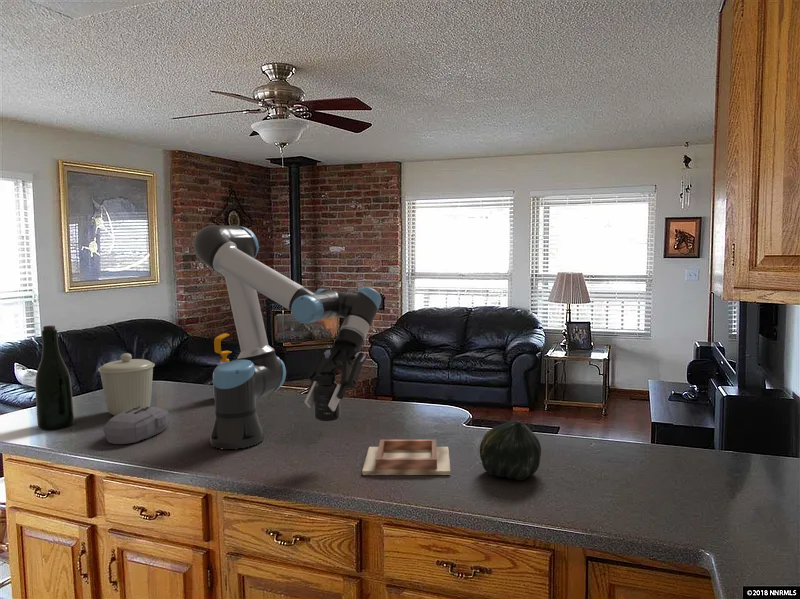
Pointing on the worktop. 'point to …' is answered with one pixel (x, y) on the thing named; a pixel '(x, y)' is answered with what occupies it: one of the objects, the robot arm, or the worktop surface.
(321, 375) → the supplement bottle
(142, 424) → the soft grey pack
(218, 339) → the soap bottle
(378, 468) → the pocket board
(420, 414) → the worktop surface
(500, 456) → the squash
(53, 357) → the wine bottle
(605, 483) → the worktop surface
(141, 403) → the canister
